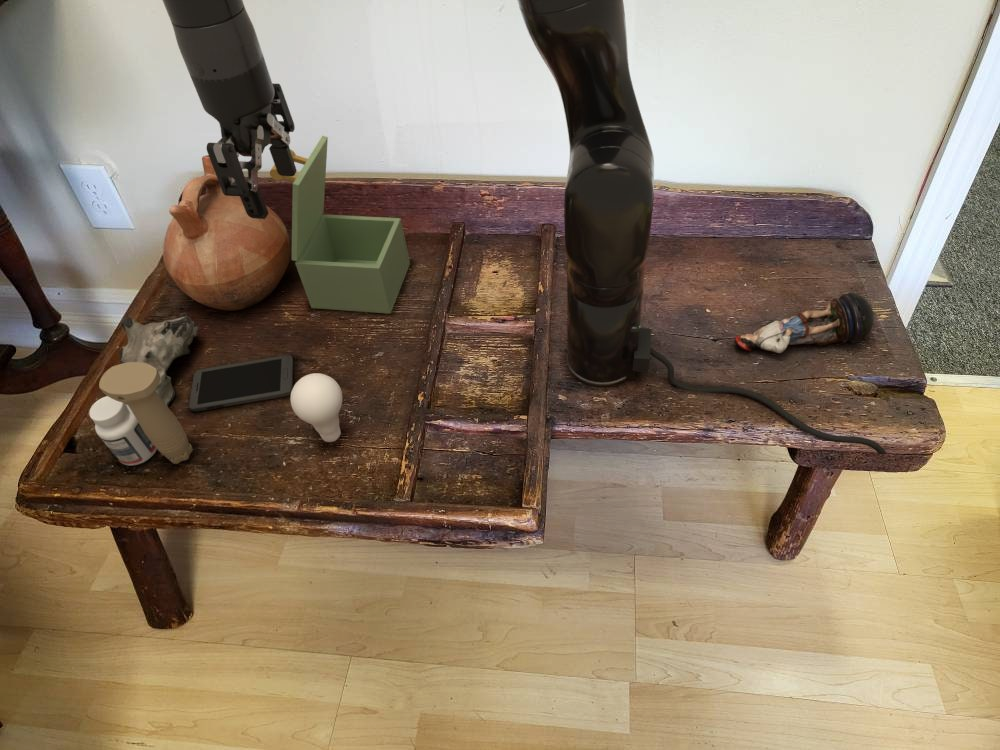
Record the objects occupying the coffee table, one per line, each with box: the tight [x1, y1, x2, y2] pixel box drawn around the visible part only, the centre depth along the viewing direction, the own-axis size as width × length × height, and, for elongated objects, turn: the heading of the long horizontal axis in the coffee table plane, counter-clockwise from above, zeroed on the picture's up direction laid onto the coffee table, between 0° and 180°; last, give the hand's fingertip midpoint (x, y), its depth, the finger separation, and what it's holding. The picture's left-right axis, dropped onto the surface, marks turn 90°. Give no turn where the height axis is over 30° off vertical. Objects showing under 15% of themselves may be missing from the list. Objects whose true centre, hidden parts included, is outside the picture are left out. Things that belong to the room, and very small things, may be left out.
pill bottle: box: [88, 395, 158, 467], centre depth 92 cm, size 5×5×9 cm
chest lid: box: [269, 135, 329, 262], centre depth 102 cm, size 14×12×5 cm
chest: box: [294, 213, 411, 314], centre depth 110 cm, size 13×12×9 cm
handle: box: [98, 362, 194, 465], centre depth 88 cm, size 5×6×15 cm
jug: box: [162, 154, 291, 312], centre depth 108 cm, size 18×18×20 cm
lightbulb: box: [289, 372, 343, 443], centre depth 90 cm, size 6×6×11 cm
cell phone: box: [188, 354, 294, 413], centre depth 101 cm, size 7×14×1 cm, turn 99°
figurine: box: [734, 292, 875, 354], centre depth 98 cm, size 8×7×18 cm
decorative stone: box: [118, 312, 200, 408], centre depth 101 cm, size 16×9×10 cm, turn 178°
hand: (274, 194), depth 86 cm, fingers open, 8 cm apart
